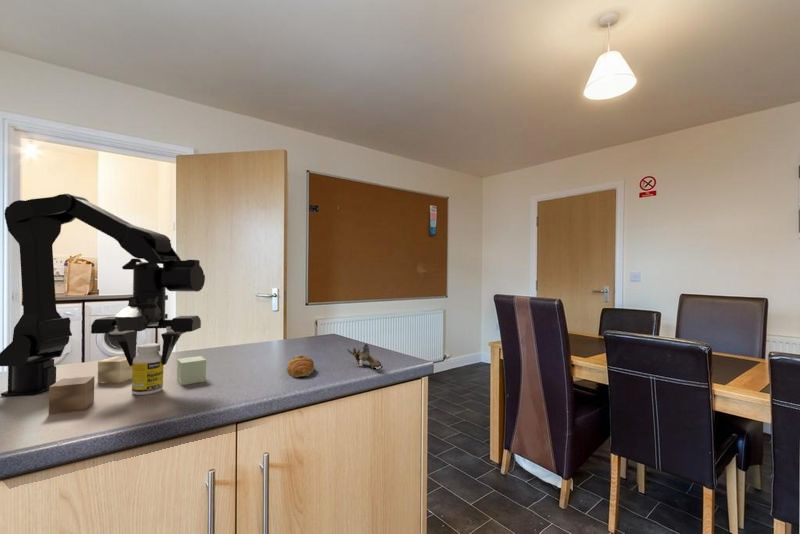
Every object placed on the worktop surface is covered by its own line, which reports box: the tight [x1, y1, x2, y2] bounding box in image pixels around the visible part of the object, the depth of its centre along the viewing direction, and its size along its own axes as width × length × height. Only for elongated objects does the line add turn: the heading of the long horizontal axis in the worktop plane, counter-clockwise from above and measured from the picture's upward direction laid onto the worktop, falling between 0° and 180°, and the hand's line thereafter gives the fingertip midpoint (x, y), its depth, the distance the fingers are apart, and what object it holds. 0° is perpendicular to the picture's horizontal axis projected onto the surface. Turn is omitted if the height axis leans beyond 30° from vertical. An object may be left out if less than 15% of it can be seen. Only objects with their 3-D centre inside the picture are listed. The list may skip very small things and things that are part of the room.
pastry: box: [286, 355, 315, 378], centre depth 92 cm, size 9×7×4 cm
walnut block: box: [48, 375, 96, 416], centre depth 68 cm, size 5×5×5 cm
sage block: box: [176, 355, 207, 386], centre depth 85 cm, size 5×5×5 cm
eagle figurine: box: [346, 343, 382, 369], centre depth 99 cm, size 8×7×9 cm
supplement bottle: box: [131, 342, 164, 396], centre depth 77 cm, size 5×5×10 cm
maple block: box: [97, 355, 133, 384], centre depth 85 cm, size 5×5×5 cm
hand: (148, 365), depth 77 cm, fingers open, 6 cm apart
